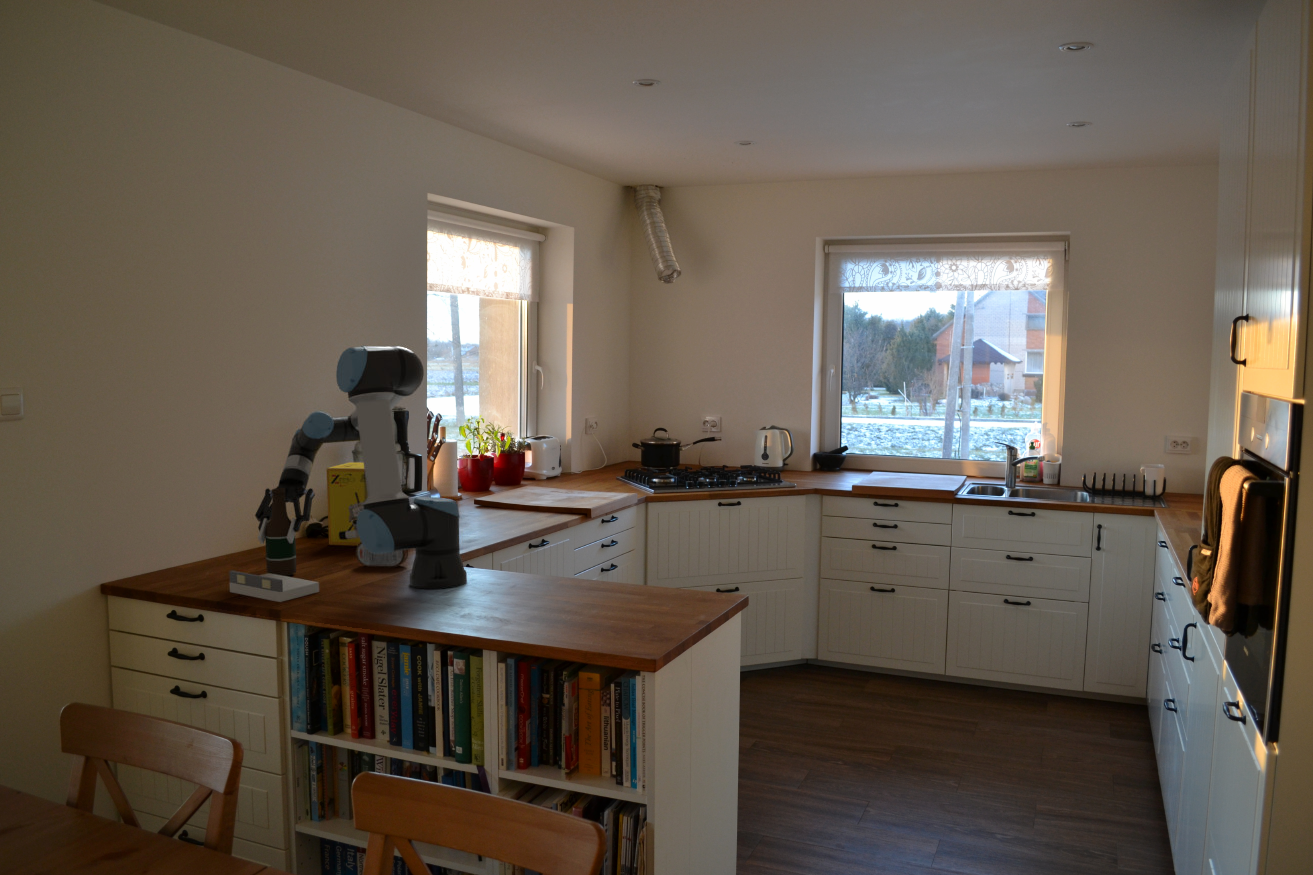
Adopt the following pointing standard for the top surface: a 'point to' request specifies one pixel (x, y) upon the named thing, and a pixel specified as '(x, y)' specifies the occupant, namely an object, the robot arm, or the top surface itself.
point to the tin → (380, 557)
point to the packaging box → (345, 502)
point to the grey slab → (271, 586)
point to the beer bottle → (279, 538)
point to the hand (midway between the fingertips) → (275, 540)
